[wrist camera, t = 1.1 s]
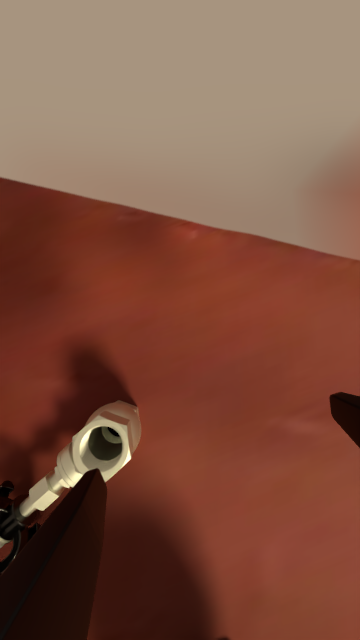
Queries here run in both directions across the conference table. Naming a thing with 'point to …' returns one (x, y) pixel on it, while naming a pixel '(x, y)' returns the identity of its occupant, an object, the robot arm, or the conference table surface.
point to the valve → (71, 471)
